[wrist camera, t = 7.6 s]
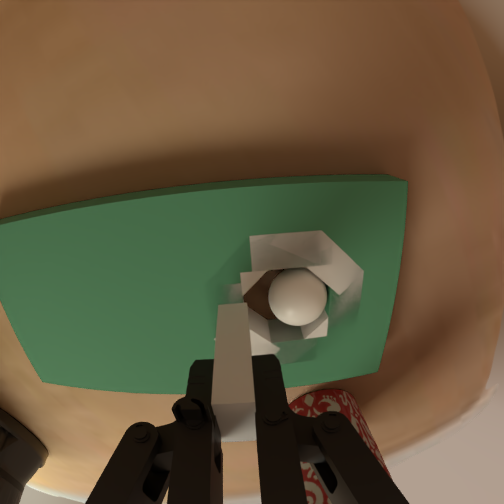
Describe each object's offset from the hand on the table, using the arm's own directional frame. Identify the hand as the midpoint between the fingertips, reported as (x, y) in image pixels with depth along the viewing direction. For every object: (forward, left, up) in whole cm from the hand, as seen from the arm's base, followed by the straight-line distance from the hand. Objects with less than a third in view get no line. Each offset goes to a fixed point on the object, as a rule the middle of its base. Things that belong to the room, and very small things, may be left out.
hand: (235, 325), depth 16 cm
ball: (+4, 0, -2) cm, 4 cm away
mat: (-4, 0, -4) cm, 5 cm away
